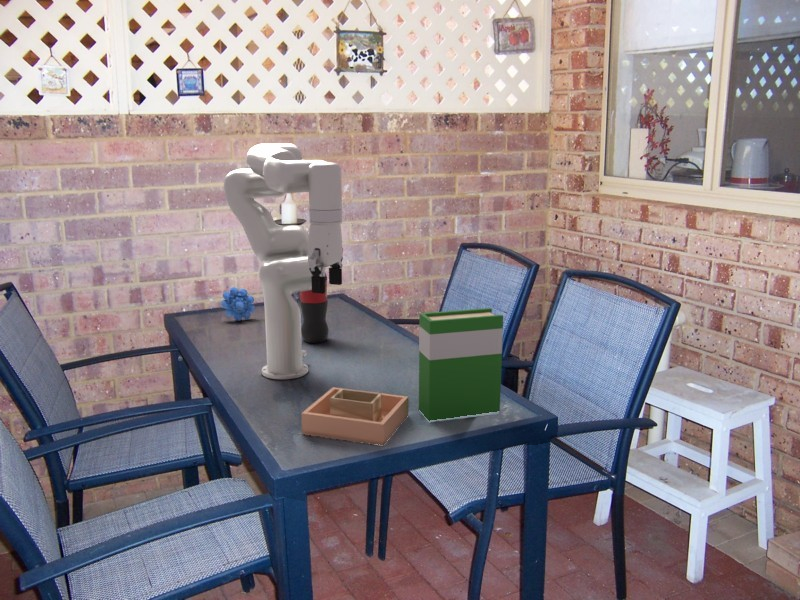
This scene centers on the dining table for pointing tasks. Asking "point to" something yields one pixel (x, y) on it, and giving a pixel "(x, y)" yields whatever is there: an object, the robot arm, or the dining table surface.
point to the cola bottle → (314, 315)
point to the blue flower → (238, 304)
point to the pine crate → (357, 405)
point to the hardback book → (459, 363)
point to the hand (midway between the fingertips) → (327, 288)
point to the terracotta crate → (354, 420)
